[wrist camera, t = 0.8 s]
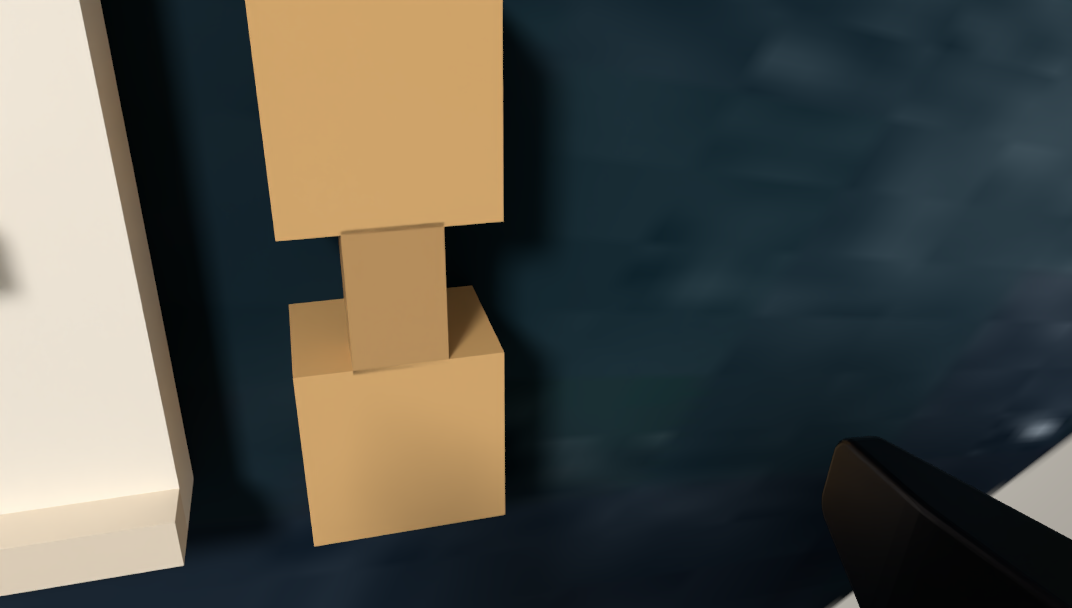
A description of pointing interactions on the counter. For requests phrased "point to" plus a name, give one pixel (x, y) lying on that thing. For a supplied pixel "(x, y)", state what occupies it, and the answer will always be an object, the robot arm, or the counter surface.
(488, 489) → the tan square dumbbell
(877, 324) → the counter surface
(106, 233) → the display stand
